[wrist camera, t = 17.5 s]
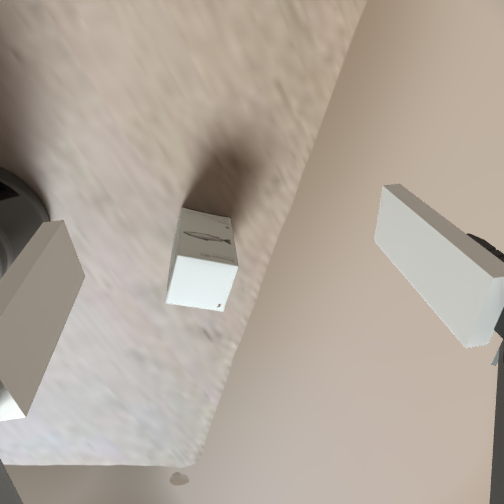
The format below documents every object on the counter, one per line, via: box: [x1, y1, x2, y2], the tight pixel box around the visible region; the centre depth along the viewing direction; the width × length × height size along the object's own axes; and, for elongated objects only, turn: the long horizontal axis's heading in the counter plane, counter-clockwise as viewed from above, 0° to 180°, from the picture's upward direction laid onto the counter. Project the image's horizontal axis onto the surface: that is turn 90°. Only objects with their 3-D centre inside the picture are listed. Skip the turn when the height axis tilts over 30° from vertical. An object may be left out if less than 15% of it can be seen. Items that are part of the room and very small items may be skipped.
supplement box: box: [165, 208, 238, 312], centre depth 46 cm, size 7×7×13 cm
